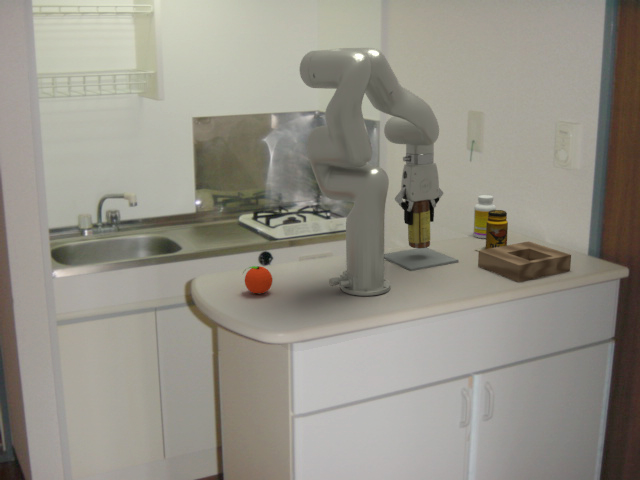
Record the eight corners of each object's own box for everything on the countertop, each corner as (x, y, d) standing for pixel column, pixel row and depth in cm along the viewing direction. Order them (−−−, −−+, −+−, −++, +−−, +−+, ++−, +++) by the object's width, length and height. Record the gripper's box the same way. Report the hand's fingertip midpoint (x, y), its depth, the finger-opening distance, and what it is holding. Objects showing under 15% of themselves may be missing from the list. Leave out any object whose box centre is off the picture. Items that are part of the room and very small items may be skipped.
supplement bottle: (495, 239, 232) (497, 198, 229) (473, 238, 233) (475, 198, 230) (494, 234, 239) (496, 194, 235) (473, 233, 240) (474, 194, 236)
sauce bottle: (429, 243, 215) (431, 175, 210) (430, 249, 209) (432, 179, 204) (406, 243, 216) (407, 175, 210) (407, 249, 210) (408, 179, 204)
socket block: (518, 282, 192) (519, 265, 191) (478, 266, 206) (478, 250, 204) (570, 271, 200) (571, 254, 199) (528, 256, 214) (528, 241, 212)
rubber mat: (411, 271, 203) (411, 268, 203) (379, 256, 217) (379, 254, 216) (458, 262, 210) (458, 260, 210) (425, 248, 224) (425, 246, 224)
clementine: (236, 295, 187) (235, 268, 185) (250, 287, 193) (248, 260, 191) (264, 299, 183) (263, 271, 182) (277, 290, 190) (276, 263, 188)
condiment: (498, 256, 215) (500, 215, 212) (474, 250, 221) (475, 210, 218) (513, 250, 220) (515, 211, 217) (488, 245, 226) (490, 206, 223)
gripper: (401, 164, 199) (400, 229, 203) (453, 157, 206) (452, 221, 211) (385, 160, 205) (385, 223, 210) (437, 154, 213) (436, 215, 218)
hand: (419, 221), depth 210 cm, fingers closed on sauce bottle, 6 cm apart
